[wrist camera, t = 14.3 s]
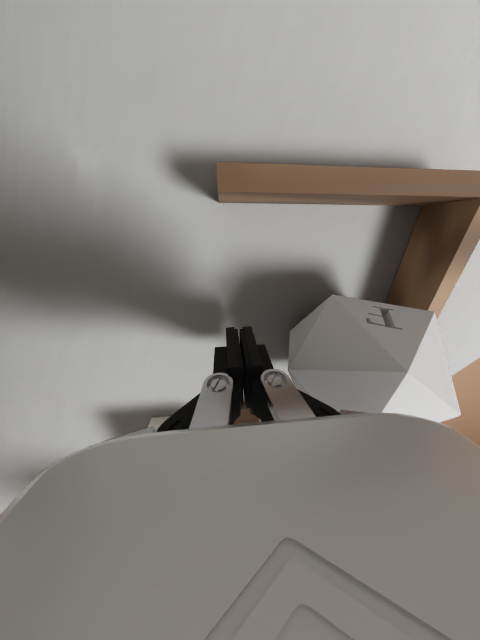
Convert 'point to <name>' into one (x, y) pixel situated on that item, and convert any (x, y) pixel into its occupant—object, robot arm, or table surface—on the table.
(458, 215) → the walnut bay
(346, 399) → the die
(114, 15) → the table surface
